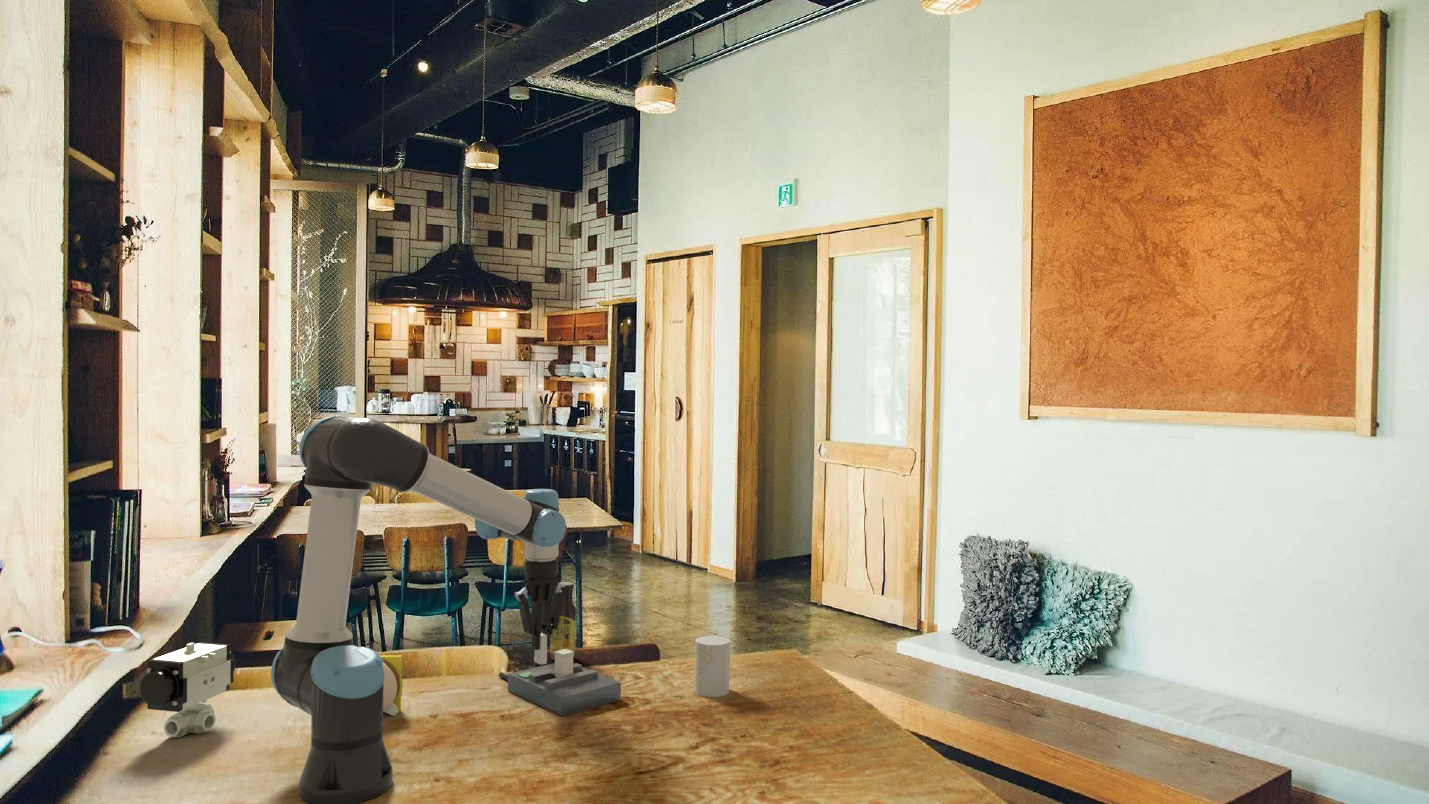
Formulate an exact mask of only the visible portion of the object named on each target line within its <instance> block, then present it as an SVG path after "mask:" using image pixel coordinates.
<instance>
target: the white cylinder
mask: <svg viewBox="0 0 1429 804" xmlns="http://www.w3.org/2000/svg"><path fill="white" fill-rule="evenodd" d="M694 644H695V645H694V646H695V647H694V651H695V653H694V694H696V695H698V696H702V697H705V698H718V697H725V696H727V695H728V694H730V668H731V667H730V664H731V663H730V661H731V659H730V655H731V640H730V638H728V637H726V636H721V635H705V636H699V637H697V638H695V643H694Z"/></svg>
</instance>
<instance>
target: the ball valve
mask: <svg viewBox="0 0 1429 804" xmlns="http://www.w3.org/2000/svg"><path fill="white" fill-rule="evenodd" d="M236 665H237V661H236V657H235V655H234V654H233V652H232V651H231V644H227V643H215V642H203V641H200V642H198V643H195V642H189V643H187V644H186V645H185V647H184V648H180V649H177V650H175V651H172V652H169V653H166V654H164V655H161V656H157V657H155V658H152V659H150V660H149V659H148V660H147V669H146V672H147V674H145V675H144V676H143V677H142V679H141V681H140V685H139V693H140V697H141V699H142V700H143V701H144V703H145V704H147V705H146V709H147V710H155V711H162V712H163V711H164V712H174V714H172V715H170V716H169V718H167V720H166V721H165V723H164V725H163V731H164V734H166V736H167V737H170V738H182V737H183V736H186V735H188V734H190V733H192V734H203V733H202V732H204V733H207V732H209V731H211V730H213V728H214V726H215V725H216V722H217V721H216V720H217V718H216V715H215V711H214V708H213V706H212V705H211V704H208V703H207V702H208V700H209V699H212V698H214V697H216V696H219V695H221V694H223V693H226V692H228V691H229V690H230V685H231V684H233V683H234V681H235V679H234V674H235V671H236Z"/></svg>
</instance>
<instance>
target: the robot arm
mask: <svg viewBox="0 0 1429 804" xmlns="http://www.w3.org/2000/svg"><path fill="white" fill-rule="evenodd" d="M299 443H300V444H299V448H298V449H299V451H298V452H299V458H300V461H301V462H302V464H303V466H304V467H305V468H306V469H305V476H304V485H303V486H304V488H305V489H306V490H308V492H309V493H310V494H311V499H310V500H311V501H310V507H309V515H308V516H309V517H308V526H307V527H308V528H307V533H306V541H305V548H304V556H303V565H302V566H303V567H302V571H301V581H300V589H299V597H298V606H297V614H296V621H295V624H294V626H292V628H290V629H289V630H288V631H286V633H285V636H284V644H283V647H282V648H281V649H280V650H279V651H278V652H277V653H276V655H275V656H274V659H273V661H272V665H271V669H270V676H271V677H270V678H271V683H272V686H273V688H274V689H275V691H276V692H277V694H278V695H279V696H280V697H281V698H282V700H284V701H286V703H287V704H289V705H291V706H293V707H295V708H298V709H300V710H301V711H302V712H304V713H306V714H308V715H310V716H311V718H310V719H311V723H310V724H311V726H310V727H311V729H310V733H311V738H310V739H311V740H310V750H309V753H308V755H307V758H306V760H305V764H304V767H303V770H302V772H301V774H300V775H301V776H300V778H299V790H298V791H299V792H298V793H299V794H298V795H299V796H300V798H301V800H303V801H304V802H306V803H308V804H357V803H358V804H359V803H362V802H366V801H368V800H371V799H373V798H376V797H378V796H380V795H382V794H384V793H385V792H386V791H388V790H389V788H390V787H392V785H393V766H392V763H391V759H390V756H389V754H388V750H387V748H386V746H385V742H384V739H383V737H384V736H383V732H384V731H383V727H384V712H383V689H384V678H385V676H384V670H383V661H382V658H381V656H382V655H380V654H379V653H378V652H377V651H375V650H374V649H372V648H369V647H367V646H366V647H365V646H357V645H353V639H354V638H353V637H354V636H353V633H352V632H351V630H349V628H347V625H346V622H347V615H348V607H349V599H350V590H351V582H352V574H353V568H354V558H355V550H356V541H357V533H358V524H359V519H360V518H359V517H360V510H361V509H360V508H361V501H362V498H363V497H365V496H366V495H367V494H368V493H370V492H371V489H372V485H373V484H374V485H379V486H382V487H383V486H384V487H386V488H390V489H393V490H395V491H397V492H399V493H407V492H409V491H411V492H414V493H415V494H418V495H420V496H423V497H425V498H427V499H429V500H431V501H434V502H435V503H439V504H441V505H444V506H445V507H448V508H451V509H453V510H455V511H457V512H460V513H462V514H464V515H466V516H469V517H470V518H473V519H474V528H475V532H476V533H477V535H478V536H479V537H480V538H481V539H483V540H497V539H508V540H512V541H517V542H523V543H524V557H525V558H526V559H524V561H523V563H524V564H523V565H524V566H523V567H524V571H523V572H524V573H523V574H524V582H523V584H522V585H523V586H522V589H520V590H519V591H515V592H514V593H513V596H514V598H515V601H516V602H517V603H518V609H519V614H520V618H521V622H522V628H523V632H525V633H527V634H530V635H531V648H532V650H534V663H536V664H539V665H540V666H543V665H548V648H549V647H550V646H551V634H552V633H553V631H552V630H554V629H557V627H558V623H559V618H560V613H561V608H562V603H563V598H564V595H565V593H566V591H567V589H568V588H567V586H564V585H561V584H560V580H559V578H558V575H559V559H558V556H559V551H560V550H559V544H560V543H561V541H562V540H563V539H564V538H565V535H566V531H567V522H566V521H567V520H566V518H565V517H564V515H563V514H562V513H560V505H559V504H560V503H559V502H560V500H559V495H558V491H556V490H554V489H550V488H533V489H532V488H531V489H527V490H526V491H525V493H524V497H521V496H519V495H517V494H516V493H515V494H514V493H513V492H510V491H508V490H506V489H504V488H501V487H500V486H498V485H495V484H494V483H492V482H490V481H487V480H486V479H483V478H482V477H479V476H477V475H475V474H473V473H471V472H468V471H467V470H465V469H462V468H461V467H458V466H456V465H454V464H452V463H450V462H448V461H446V460H444V459H442V458H440V457H438V456H436V455H435V454H434V455H433V454H432V453H430V450H429V448H428V446H427V445H425V444H423V443H421V442H420V441H417V440H415V439H414V438H412V437H411V436H409V435H406V434H404V433H403V432H402V431H399V430H397V429H395V428H394V427H392V426H389V424H386V423H384V422H382V421H380V420H376V419H373V418H368V417H353V416H345V415H334V416H330V417H329V416H327V417H325V418H322V419H321V418H320V419H318V420H317V421H315V422H314V423H312V424H311V425H309V427H308V428H307V429H306V431H305V432H304V433H303V435H302V436H301V439H300V442H299ZM528 598H529V600H528ZM529 604H530V605H529Z"/></svg>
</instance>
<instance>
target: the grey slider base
mask: <svg viewBox="0 0 1429 804" xmlns="http://www.w3.org/2000/svg"><path fill="white" fill-rule="evenodd" d="M498 677H499V678H501V679H503V680H506V681H507V691H508V692H509V693H511V694H513V695H515V696H517V697H520V698H522V699H524V700H526V701H528V702H530V703H533V704H535V705H537V706H539V707H541V708H543V709H545V710H547V711H549V712H552V713H554V714H556V715H558V716H560V717H565V716H568V715H571V714H574V713H579V712H582V711H586V710H589V709H593V708H596V707H599V706H601V707H602V706H605V705H607V704H611V703H615V702H618V701H621V699H622V698H621V695H622V694H621V693H622V692H621V691H622V690H621V689H622V682H621V681H618V680H616V679H614V678H611V677H608V676H606V675H603V674H601V673H599V671H597V670H595V669H588V668H585V667H583V665H582V664H579V663H578V662H577V663H576V662H575V663H574V662H573V674H570V675H566V676H562V677H558V678H557V677H555V662H554V663H550V664H543V665H540V666H536V667H534V666H531V665H528V666H527V667H526V669H524V670H519V669H517V668H515V669H513V672H510V673H508V674H506V673H505V672H502V671H501V672H499V674H498Z"/></svg>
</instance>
